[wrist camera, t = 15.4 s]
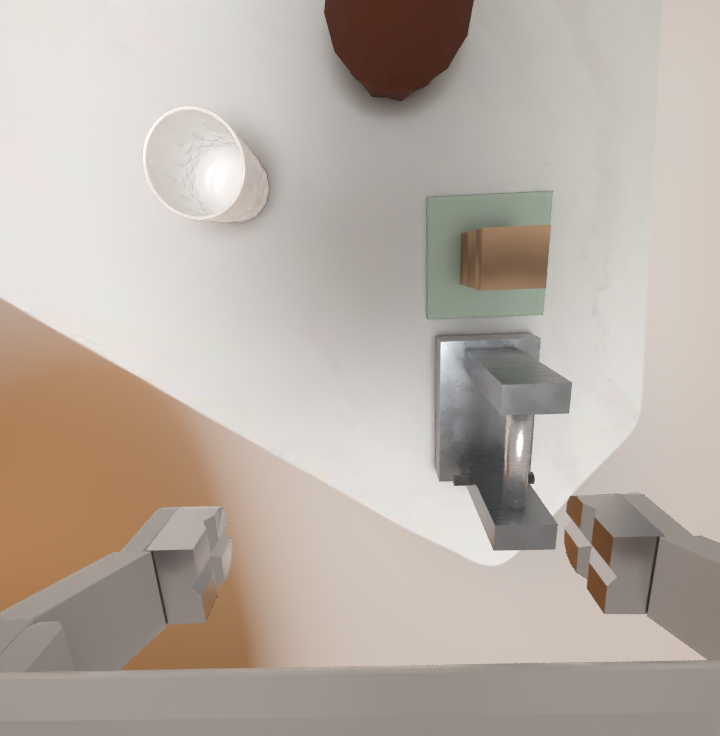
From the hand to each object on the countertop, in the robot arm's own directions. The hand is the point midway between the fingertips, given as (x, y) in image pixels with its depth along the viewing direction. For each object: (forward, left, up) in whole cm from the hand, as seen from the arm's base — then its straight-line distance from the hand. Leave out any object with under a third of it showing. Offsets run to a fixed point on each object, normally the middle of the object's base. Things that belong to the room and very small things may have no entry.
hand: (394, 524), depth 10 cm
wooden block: (-6, +12, -34) cm, 36 cm away
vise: (+10, +12, -35) cm, 38 cm away
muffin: (-25, +3, -35) cm, 43 cm away
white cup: (-14, -13, -35) cm, 40 cm away
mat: (-6, +12, -35) cm, 37 cm away
